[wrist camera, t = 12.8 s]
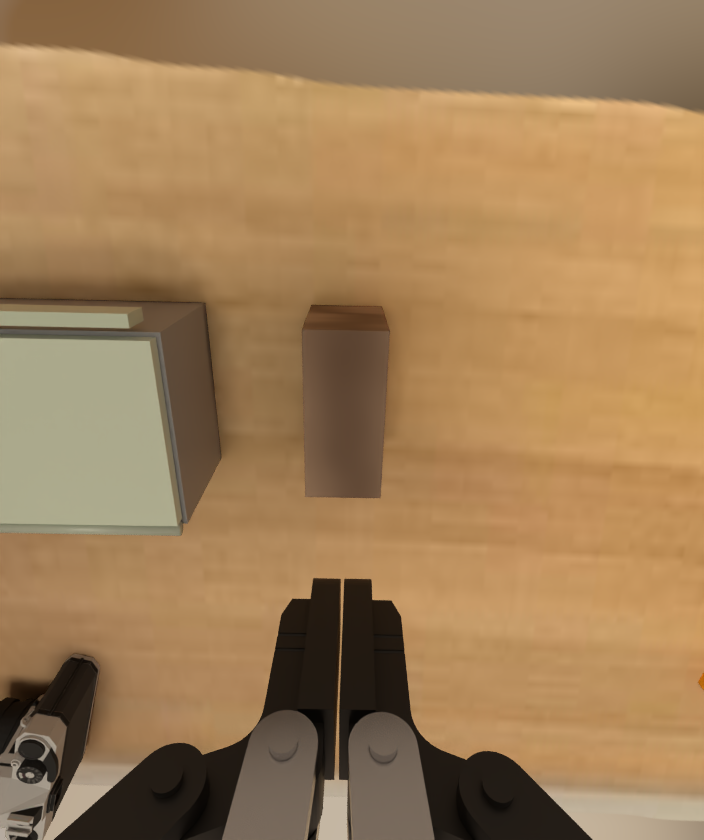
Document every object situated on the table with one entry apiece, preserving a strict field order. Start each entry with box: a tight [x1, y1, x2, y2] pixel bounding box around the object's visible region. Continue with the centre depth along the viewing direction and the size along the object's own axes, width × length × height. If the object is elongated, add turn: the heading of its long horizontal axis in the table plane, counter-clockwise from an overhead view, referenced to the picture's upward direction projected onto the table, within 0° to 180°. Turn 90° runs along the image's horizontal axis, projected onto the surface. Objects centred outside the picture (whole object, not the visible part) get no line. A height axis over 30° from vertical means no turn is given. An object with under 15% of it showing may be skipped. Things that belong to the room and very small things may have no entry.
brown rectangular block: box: [302, 305, 390, 498], centre depth 26 cm, size 4×9×6 cm, turn 179°
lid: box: [0, 304, 183, 536], centre depth 22 cm, size 13×11×2 cm
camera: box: [0, 654, 100, 840], centre depth 36 cm, size 13×8×9 cm, turn 165°
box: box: [0, 298, 221, 523], centre depth 26 cm, size 13×10×7 cm
